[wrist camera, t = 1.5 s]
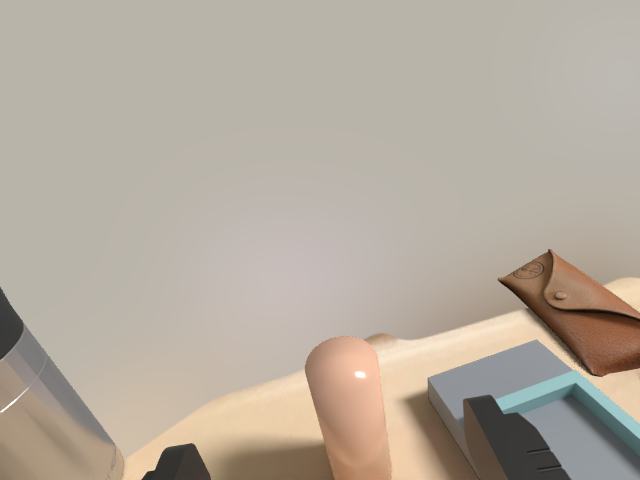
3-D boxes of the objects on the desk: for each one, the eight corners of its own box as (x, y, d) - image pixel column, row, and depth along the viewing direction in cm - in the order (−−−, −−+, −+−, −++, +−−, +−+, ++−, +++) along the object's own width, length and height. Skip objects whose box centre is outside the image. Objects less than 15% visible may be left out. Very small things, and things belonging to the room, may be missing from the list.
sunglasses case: (491, 277, 49) (519, 236, 46) (529, 288, 51) (558, 250, 48) (597, 381, 33) (648, 329, 30) (647, 392, 35) (699, 344, 32)
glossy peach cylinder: (343, 512, 27) (314, 406, 21) (326, 451, 32) (298, 348, 25) (402, 489, 28) (390, 380, 22) (377, 432, 32) (362, 328, 26)
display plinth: (640, 734, 17) (668, 713, 15) (428, 398, 34) (427, 366, 32) (823, 630, 19) (871, 598, 17) (532, 360, 36) (538, 328, 34)
